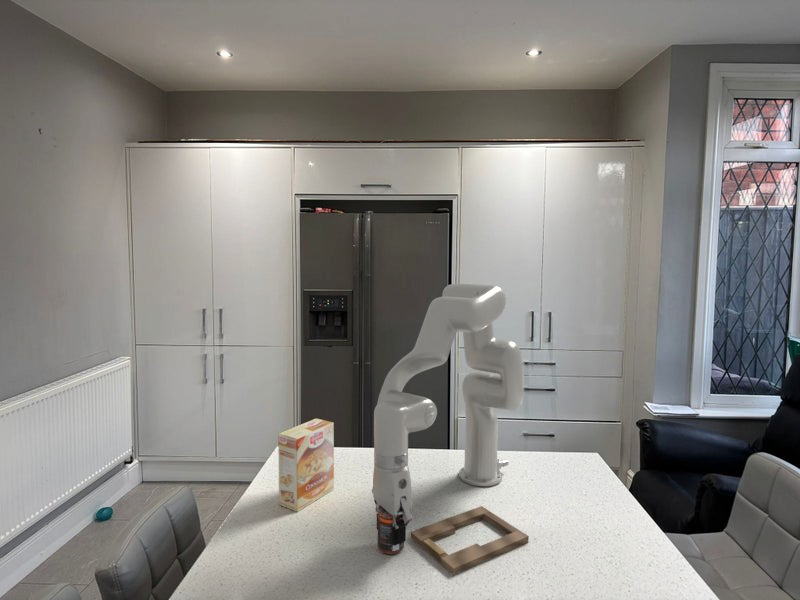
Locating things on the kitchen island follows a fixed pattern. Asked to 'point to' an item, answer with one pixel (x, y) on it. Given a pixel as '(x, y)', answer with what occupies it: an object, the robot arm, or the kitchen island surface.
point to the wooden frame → (472, 553)
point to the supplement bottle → (387, 533)
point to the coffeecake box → (306, 463)
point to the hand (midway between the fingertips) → (390, 534)
